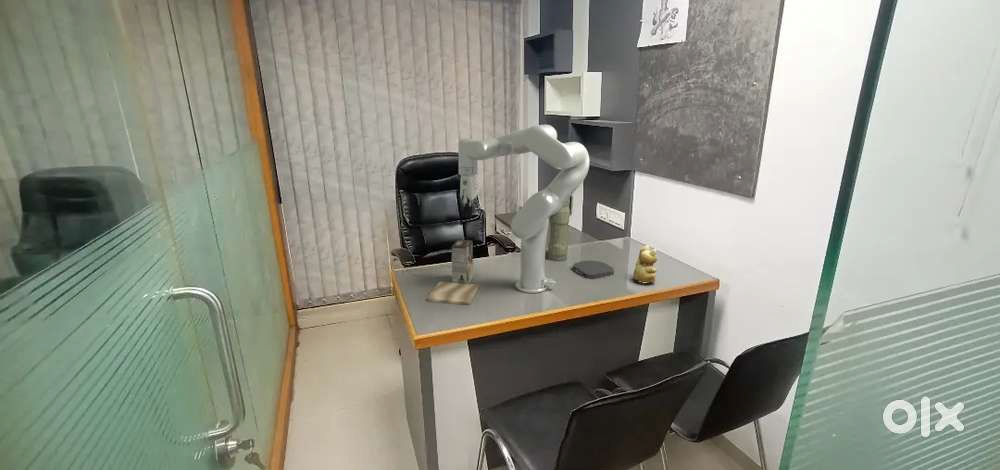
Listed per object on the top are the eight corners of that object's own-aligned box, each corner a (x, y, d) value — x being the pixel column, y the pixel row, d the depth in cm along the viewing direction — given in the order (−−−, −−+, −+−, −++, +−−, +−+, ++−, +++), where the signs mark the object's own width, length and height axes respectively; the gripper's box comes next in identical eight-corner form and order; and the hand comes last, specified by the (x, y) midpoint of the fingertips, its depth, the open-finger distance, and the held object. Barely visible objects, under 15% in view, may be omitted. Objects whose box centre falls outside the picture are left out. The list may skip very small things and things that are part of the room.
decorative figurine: (659, 284, 185) (663, 248, 181) (644, 288, 181) (649, 252, 177) (640, 276, 193) (644, 242, 189) (626, 279, 189) (630, 245, 185)
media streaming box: (617, 275, 194) (618, 269, 193) (589, 281, 188) (589, 274, 187) (596, 264, 207) (596, 258, 206) (569, 269, 201) (569, 262, 200)
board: (479, 287, 179) (479, 285, 179) (469, 305, 164) (469, 302, 164) (439, 283, 182) (439, 281, 182) (426, 300, 167) (426, 298, 167)
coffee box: (458, 275, 190) (457, 239, 185) (473, 277, 189) (473, 240, 184) (451, 284, 182) (451, 246, 177) (467, 286, 180) (467, 247, 176)
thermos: (573, 259, 212) (578, 184, 201) (552, 263, 206) (556, 186, 196) (562, 253, 219) (566, 180, 209) (541, 256, 214) (544, 182, 203)
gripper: (472, 174, 174) (472, 220, 180) (481, 168, 188) (481, 211, 194) (453, 173, 176) (454, 219, 181) (463, 167, 190) (463, 210, 195)
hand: (468, 215), depth 187 cm, fingers closed
